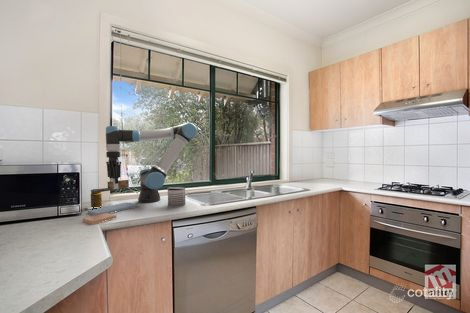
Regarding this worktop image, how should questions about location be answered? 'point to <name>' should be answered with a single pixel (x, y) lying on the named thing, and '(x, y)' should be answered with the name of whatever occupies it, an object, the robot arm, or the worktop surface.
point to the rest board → (112, 208)
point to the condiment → (96, 199)
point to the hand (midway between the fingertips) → (114, 188)
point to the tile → (98, 218)
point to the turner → (121, 185)
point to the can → (176, 196)
